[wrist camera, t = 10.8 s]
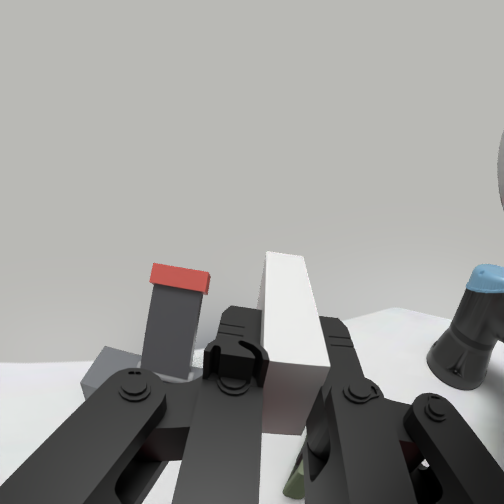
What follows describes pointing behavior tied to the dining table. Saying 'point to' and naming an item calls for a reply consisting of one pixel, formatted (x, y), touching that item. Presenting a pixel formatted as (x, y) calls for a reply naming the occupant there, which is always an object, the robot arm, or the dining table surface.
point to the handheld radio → (295, 482)
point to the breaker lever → (173, 322)
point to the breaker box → (114, 368)
